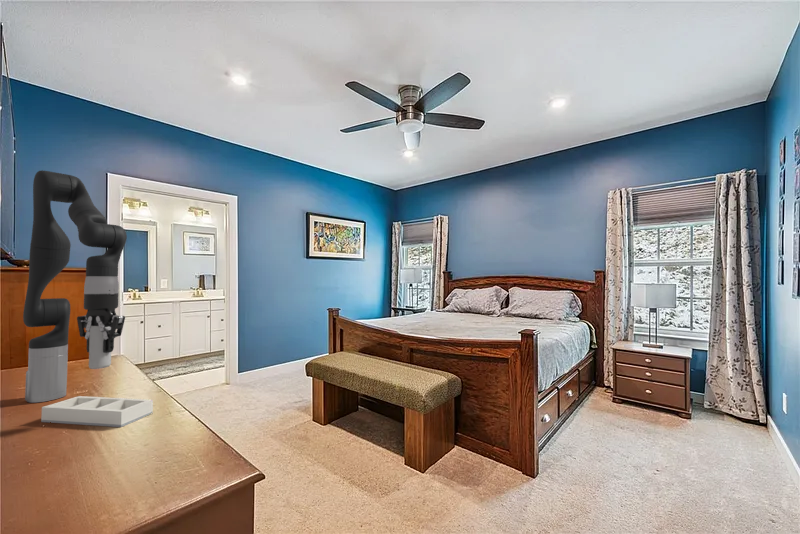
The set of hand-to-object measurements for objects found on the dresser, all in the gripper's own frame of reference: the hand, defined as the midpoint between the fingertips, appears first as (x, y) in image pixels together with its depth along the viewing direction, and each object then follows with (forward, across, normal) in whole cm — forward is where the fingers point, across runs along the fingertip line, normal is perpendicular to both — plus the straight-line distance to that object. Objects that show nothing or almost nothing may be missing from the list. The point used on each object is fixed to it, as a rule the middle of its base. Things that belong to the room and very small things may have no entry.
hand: (100, 351), depth 98 cm
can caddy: (+18, 0, 0) cm, 18 cm away
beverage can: (+5, 0, 0) cm, 5 cm away
